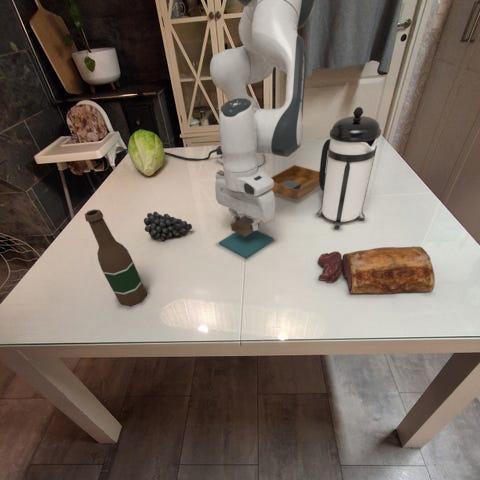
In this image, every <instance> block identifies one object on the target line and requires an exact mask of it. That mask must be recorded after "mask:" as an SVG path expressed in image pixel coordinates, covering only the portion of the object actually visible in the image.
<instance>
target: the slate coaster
mask: <svg viewBox="0 0 480 480" xmlns="http://www.w3.org/2000/svg"><path fill="white" fill-rule="evenodd" d="M281 185H284V186H287V187H290V188H293V189H297V190H298V189H300V188H301V184H300V183H297V182H294V181H290V180H287V181H285V182H284V183H282V184H281Z"/></svg>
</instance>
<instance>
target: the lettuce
mask: <svg viewBox="0 0 480 480" xmlns="http://www.w3.org/2000/svg"><path fill="white" fill-rule="evenodd" d="M127 144H128V145H127V149H128V151H127V152H128V156H129V158H130V160H131V163H132V165H133V166H134V167H135V168H136V169H137V170H138V171H139V172H141V173H142V174H144V175H145V176H148V177H149V176H153V175H154V174H155V172H157V171H158V170H159V169H161V168H162V166H163V165H164V162H165V156H166V154H165V152H166V151H165V148H164V145H163V142H162V139H161V138H160V137H159V136H158V135H157V134H156V133H154V132H153V131H151V130H145V129H141V128H140V129H137V130H136V131H134V132H133V133H132V135H131V136H130V137H129V141H128V143H127Z"/></svg>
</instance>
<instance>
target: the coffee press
mask: <svg viewBox="0 0 480 480" xmlns="http://www.w3.org/2000/svg"><path fill="white" fill-rule="evenodd" d="M352 113H353V116H347V117H343V118H341V119H339V120H337V121H336V122H335V123H334V124H333V126H332V128H331V129H330V130H329V138H328V139H327V140H325V142H324V143H323V146H322V149H321V156H320V164H319V184H320V187H319V188H320V189H321V192H322V197H321V198H322V199H321V206H320V208H319V210H317V212H316V215H318V214H319V213H320V211H321V212H322V213H321V214H320V215H318V217H319V218H320V217H322V216H324V217H325V218H326V219H328V220H330V221H332V222H335V224H334V229H335V230H339V229H340V226H341V223H344V222H351V221H353V220H355V219H358V220H359V221H360V222H363V221H364V220H365V218H366V216H365V214H364V212H363V209H364V205H365V200H366V196H367V195H366V194H367V191H368V187H369V184H370V183H369V182H370V179H371V175H372V170H373V165H374V161H375V158H376V157H375V156H376V151H377V149H378V148H377V147H378V146H377V143H378V140H379V138H380V136H381V133H382V130H381V128H380V127H381V126H380V124H379V122H378V121H377V120H376V119H375V118H372V117H370V116H364V115H363V114H364V109H363V107H361V106H358V107H356V108H355V109H354V110H353V112H352ZM360 215H361V216H362V217H363V218H362V217H361V216H360Z"/></svg>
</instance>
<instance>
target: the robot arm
mask: <svg viewBox="0 0 480 480" xmlns="http://www.w3.org/2000/svg"><path fill="white" fill-rule="evenodd" d="M238 2H239V3H240V4H242V5H243V10H242V13H241V17H240V20H239V23H238V37H239V40H240V42H241V44H242V45H241V46H238V47H233V48H228V49H224V50H221V51H220V52H217V53H215V54H213V56H212V58H211V60H210V64H209V75H210V78H211V81H212V83H213V84H214V86H215V87H216V88H218V90H220V91H221V92H222V93H223V94H224V95H225V98H226V99H227V101H226V102H225V103H223V104H222V106H220V108H219V114H218V117H219V118H218V134H219V144H220V145H217V147H216V149H213V150H211V151H209V153H208V154H207V156H206V157H204V158H195V157H194V158H193V157H187V156H186V157H185V156H181V155H177V154H174V153H172V152H171V153H170V152H168V151H167V152H166V151H164V152H165V155H167V156H172V157H175V158H178V159H182V160H186V161H196V162H197V161H198V162H199V161H207V160H209V159H210V158H211V155H212V154H214V153H216V155H217V156H219V157H218V158H217V162H218V163H219V164H222V167H223V168H222V169H223V170H217V172H216V174H215V183H214V187H215V188H214V189H215V200H216V202H217V203H218V204H219V205H221V206H223V207H226V208H228V212H229V214H230V215H231V217H232V223H233V222H235V221H237V220H238V219H240V218H241V215H239V213H240V214H242V215H244V216H247V217H249V218H252V220H253V221H254V222H253V223H252V224H250V227H251V230H253V231H256V230H257V231H258V223H259V224H260V222H262V223H264V224H266V223H268V222H269V221H271V220H273V219H274V218H275V216H276V197H275V193H274V192H273V191H272V190H271V188H273V187H274V181H273V179H272V178H271V177H270V176H269V175H268V174H267V173H265V172H264V171H263V170H262V169H261V168H260V166H262V165H263V164H264V163H265V159H264V154H265V155H267V154H268V155H274V156H279V157H286V158H288V157H290V156H291V155H293V153H295V152H296V151H297V150H298V149H299V148H300V147H301V145H302V141H303V136H304V123H303V120H304V115H303V114H304V100H305V99H304V97H305V82H306V62H307V60H306V59H307V58H306V56H307V55H306V45H305V41H304V38H303V37H302V36H301V35H300V34H298V30H300V29H302V28H303V27H304V26H305V25H306V23H307V22H308V20H309V18H310V17H311V15H312V13H313V10H314V9H315V8H314V7H315V5H316V4H315V3H316V0H238ZM274 68H276V69H278V70H279V71H281V72H283V73H284V74H286V81H285V98H284V105H282V106H281V107H279V108H260V106H259V103H258V101H257V99H256V98H254V97H252V96H250V95H249V94H248V90H247V86H249V85H253V84H257V83H260V82H263V81H264V80H266V79H267V78H269V77H270V76H271V75H272V74H273V71H274ZM125 152H128V148H124V149H123V150H122V153H125Z"/></svg>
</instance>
